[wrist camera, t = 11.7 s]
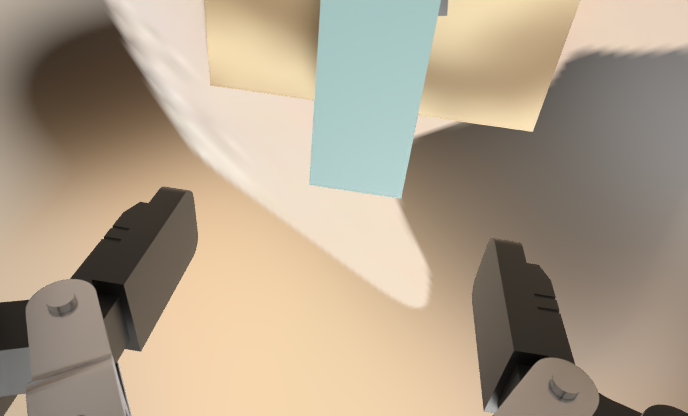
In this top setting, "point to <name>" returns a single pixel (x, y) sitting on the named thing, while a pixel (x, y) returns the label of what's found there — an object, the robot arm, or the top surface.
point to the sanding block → (369, 91)
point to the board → (444, 62)
